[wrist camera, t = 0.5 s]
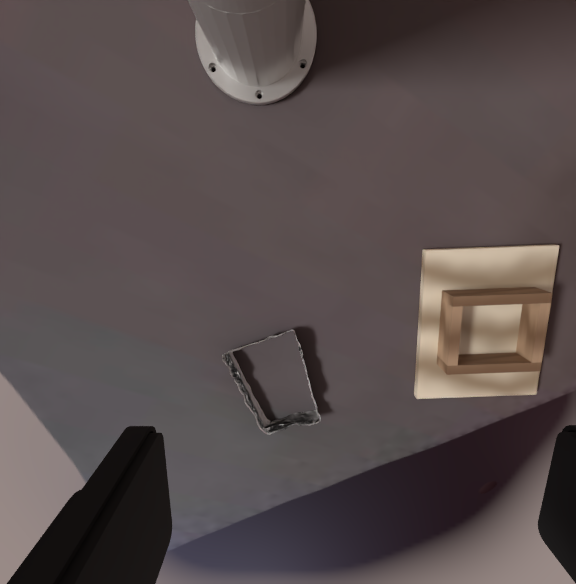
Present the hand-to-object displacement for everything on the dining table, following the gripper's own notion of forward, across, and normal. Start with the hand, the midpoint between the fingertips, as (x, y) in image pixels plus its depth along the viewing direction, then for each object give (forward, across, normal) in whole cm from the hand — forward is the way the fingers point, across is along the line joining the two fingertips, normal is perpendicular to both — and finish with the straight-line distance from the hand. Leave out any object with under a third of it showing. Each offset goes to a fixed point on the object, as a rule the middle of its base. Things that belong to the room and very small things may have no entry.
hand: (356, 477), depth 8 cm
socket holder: (+35, -24, +9) cm, 43 cm away
